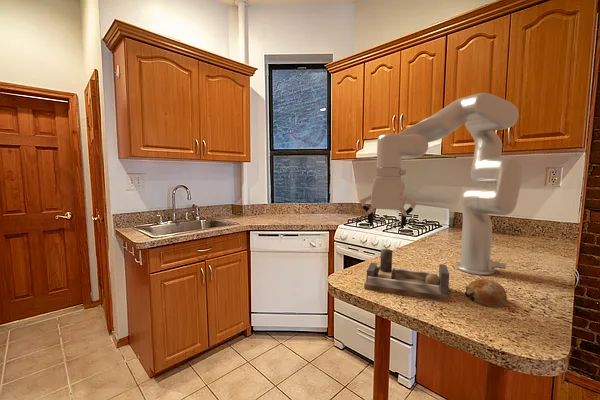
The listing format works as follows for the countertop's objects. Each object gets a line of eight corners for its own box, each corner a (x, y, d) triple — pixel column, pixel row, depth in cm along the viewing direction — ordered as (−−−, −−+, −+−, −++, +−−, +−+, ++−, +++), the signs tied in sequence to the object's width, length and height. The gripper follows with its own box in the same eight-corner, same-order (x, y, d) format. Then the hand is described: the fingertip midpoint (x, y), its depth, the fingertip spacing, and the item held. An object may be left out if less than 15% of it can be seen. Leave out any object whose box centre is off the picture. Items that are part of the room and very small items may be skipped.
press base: (444, 285, 92) (445, 263, 92) (448, 301, 81) (449, 276, 81) (369, 275, 102) (370, 255, 101) (364, 288, 90) (364, 265, 90)
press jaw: (394, 275, 97) (395, 247, 96) (392, 285, 88) (393, 254, 87) (380, 273, 98) (381, 246, 97) (377, 283, 90) (378, 253, 89)
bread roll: (499, 323, 77) (517, 300, 74) (460, 299, 81) (476, 277, 79) (497, 308, 85) (513, 287, 83) (462, 287, 90) (476, 267, 87)
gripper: (417, 174, 90) (415, 227, 92) (363, 173, 97) (361, 223, 98) (417, 174, 84) (415, 231, 85) (359, 173, 90) (357, 226, 92)
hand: (386, 226), depth 92 cm, fingers open, 9 cm apart
